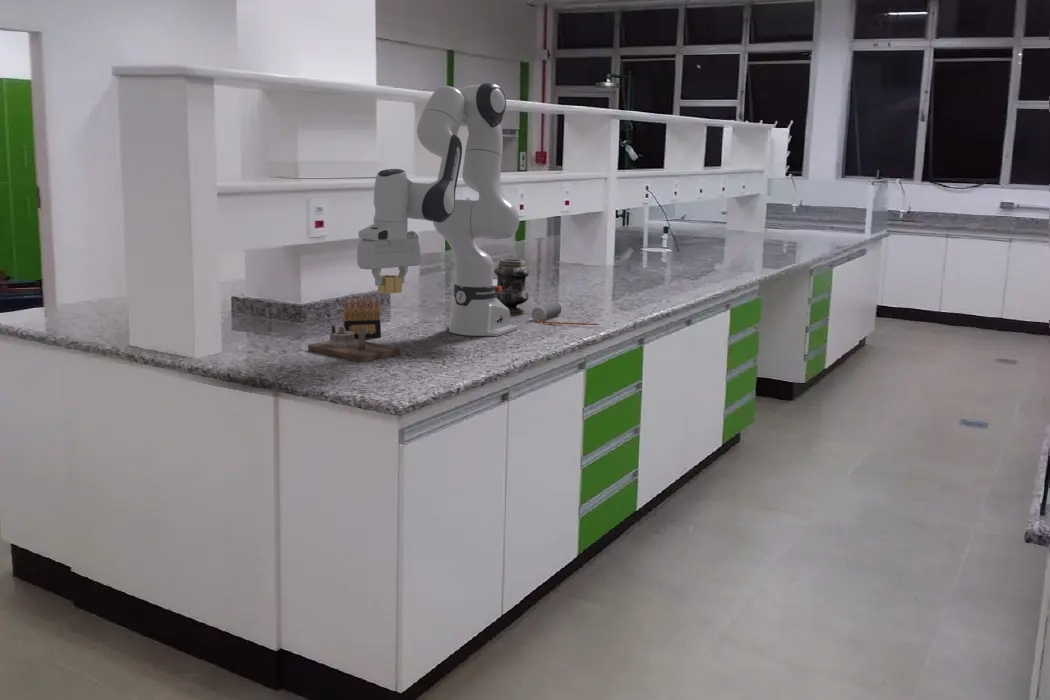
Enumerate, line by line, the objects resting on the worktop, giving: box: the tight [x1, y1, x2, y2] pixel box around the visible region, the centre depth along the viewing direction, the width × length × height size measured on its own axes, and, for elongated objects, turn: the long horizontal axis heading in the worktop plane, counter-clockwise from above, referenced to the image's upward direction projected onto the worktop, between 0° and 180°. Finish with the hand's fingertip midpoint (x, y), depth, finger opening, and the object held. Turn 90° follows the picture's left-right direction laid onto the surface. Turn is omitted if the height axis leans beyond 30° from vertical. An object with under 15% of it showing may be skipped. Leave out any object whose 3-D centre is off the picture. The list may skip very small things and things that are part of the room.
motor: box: [531, 301, 600, 326], centre depth 307 cm, size 23×22×5 cm
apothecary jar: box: [493, 257, 530, 315], centre depth 316 cm, size 12×12×18 cm
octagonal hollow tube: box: [377, 274, 403, 294], centre depth 249 cm, size 6×6×4 cm
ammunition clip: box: [342, 295, 382, 339], centre depth 266 cm, size 11×2×12 cm, turn 110°
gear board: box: [307, 325, 401, 363], centre depth 248 cm, size 14×20×7 cm
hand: (389, 284), depth 249 cm, fingers closed on octagonal hollow tube, 6 cm apart
